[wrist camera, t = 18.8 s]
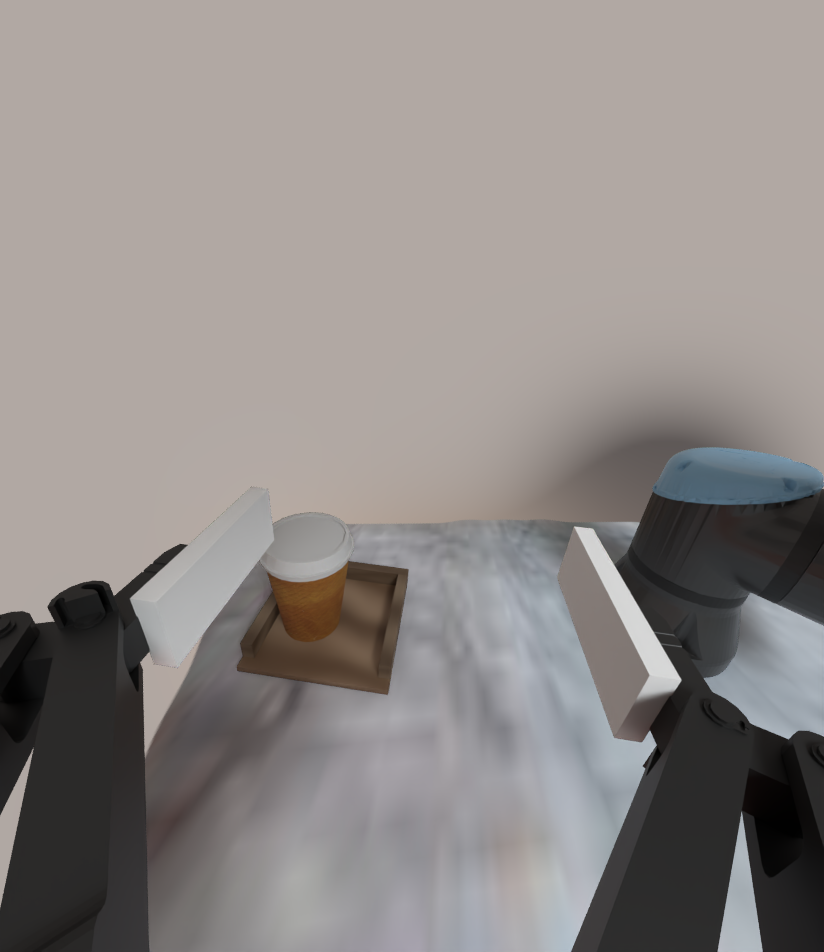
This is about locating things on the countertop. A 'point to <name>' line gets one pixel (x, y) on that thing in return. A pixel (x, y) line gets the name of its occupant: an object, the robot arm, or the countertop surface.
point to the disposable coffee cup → (309, 572)
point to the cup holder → (336, 636)
